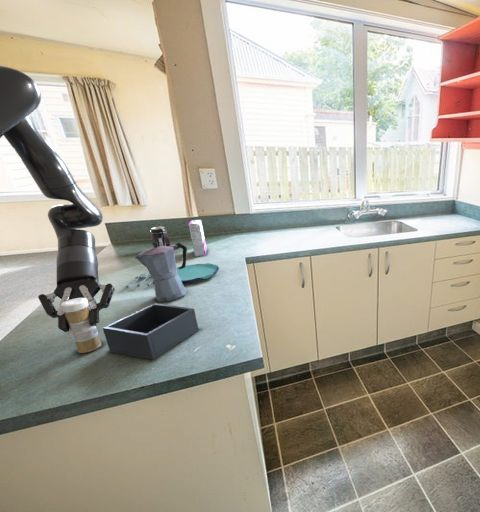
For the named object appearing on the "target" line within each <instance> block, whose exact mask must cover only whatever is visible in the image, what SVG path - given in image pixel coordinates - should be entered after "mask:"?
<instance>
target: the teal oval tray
mask: <svg viewBox="0 0 480 512" xmlns="http://www.w3.org/2000/svg"><path fill="white" fill-rule="evenodd" d="M178 267H179V266H176V268H177V274H178V276H179V277H180V279H181V281H182V283H187V282H194V281H198V280H203V279H204V280H207V279H209V278H212V277H213V276H214V275H215V274H217V272H218V271H219V270H220V266H219V265H218V264H215V263H210V262H208V263H197V264H187V265H185V268H183V269H180V270H179V269H178ZM143 277H144V279H142V278H143ZM150 278H151V281H150V282H149V283H148V284H147V285H146V286H147V287H150V286H151V284H153V283H152V282H153V278H152V276H151V275H150V273H149V272H148V273H140V274H139V275H138V276H137V275H136V276H135V277H134V279H133V280H132V281H131V282H130V283H128V284H127V285H126V286H125V288H126V289H130V287H131V286H132V285H134V284H135V283H136V282H137V281H139V280H141V279H142V280H141V281H139V282H138V283H137V284H136V286H137V287H141V285H143V284H144V283H145V281H147V280H148V279H150Z"/></svg>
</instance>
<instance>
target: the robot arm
mask: <svg viewBox="0 0 480 512" xmlns="http://www.w3.org/2000/svg"><path fill="white" fill-rule="evenodd" d="M41 101H42V93H41V90H40V88H39V85H38V84H37V83H36V82H35V80H34V79H33V78H31V77H30V76H29V75H27V74H26V73H24V72H23V71H20V70H18V69H15V68H13V67H9V66H5V65H0V139H1V138H2V137H4V138H5V140H6V141H7V143H9V144H10V146H11V147H12V149H13V150H14V151H15V153H16V154H17V156H18V157H19V159H20V160H21V162H22V163H23V165H24V166H25V168H26V169H27V171H28V173H29V174H30V176H31V178H32V179H33V181H34V182H35V184H36V185H37V187H38V188H39V190H40V192H41V193H42V195H43V196H45V198H47V199H50V200H60V201H61V200H62V201H68V202H70V203H67V204H58V205H54V206H52V207H51V208H50V209H49V210H48V212H47V218H48V220H49V223H50V224H51V226H52V228H53V230H54V233H55V235H56V239H57V256H56V287H55V288H54V290H53V292H50V293H48V294H47V293H46V294H44V293H41V294H39V295H38V296H37V298H38V300H39V302H40V304H41V306H42V307H43V310H44V311H45V313H46V315H47V316H49V317H51V318H52V319H56V318H57V327H58V329H59V330H61V331H62V332H64V333H68V332H71V331H70V327H69V325H68V322H67V319H66V316H65V314H64V312H63V311H62V309H61V304H62V303H63V302H65V301H68V300H71V299H75V298H86V299H87V301H88V304H89V322H90V325H91V326H96V327H97V325H98V324H99V323H100V322H101V321H100V311H101V310H103V309H107V308H109V307H110V304H111V301H112V299H113V295H114V293H115V290H116V289H115V286H114V285H113V284H112V283H107V284H101V283H100V282H99V281H100V279H99V261H98V257H97V253H96V252H97V251H96V239H95V236H94V234H93V233H92V232H90V231H88V230H85V229H87V228H94V227H97V226H100V225H101V224H102V222H103V219H104V217H103V213H102V211H101V209H100V208H99V207H98V206H97V205H96V203H94V201H92V200H91V199H90V198H89V197H88V196H87V194H85V192H83V190H82V189H81V188H80V187H79V185H78V184H77V181H76V180H75V178H74V177H73V175H72V173H71V171H70V169H69V167H68V166H67V164H66V163H65V161H64V160H63V159H62V157H61V156H59V154H58V153H57V152H56V151H55V150H54V148H53V147H52V146H51V145H50V144H49V143H48V142H47V141H46V139H45V138H44V137H43V136H42V135H41V133H40V132H39V131H38V129H37V127H36V126H35V124H34V123H33V122H32V120H31V118H30V116H29V115H31V114H32V113H33V112H35V111H36V110H37V109H38V108H39V106H40V104H41ZM100 291H101V292H102V294H101V296H100V297H101V298H100V300H99V302H97V300H96V298H95V297H96V295H97V294H98V293H99V292H100ZM56 298H59V299H60V302H59V307H58V310H57V309H56V306H55V305H54V304H53V303H55V302H56V300H55V299H56Z"/></svg>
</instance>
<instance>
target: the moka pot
mask: <svg viewBox="0 0 480 512" xmlns="http://www.w3.org/2000/svg"><path fill="white" fill-rule="evenodd" d="M151 245H152V246H153V247H151V248H148V249H145V250H142V251H140V253H137V254H136V256H135V257H134V259H135V260H137V261H138V262H140V264H142V265H143V266H144V267H145V268H146V270H147V271H148V273H150V275H151V276H152V277H151V279H153V282H152V283H151V284H153V286H154V287H153V288H154V293H155V299H156V301H157V302H161V303H162V302H171V301H174V300H175V301H176V300H178V299H180V298H182V297H184V296H185V295H186V294H187V290H186V288H185V286H184V284H183V282H182V281H181V279H180V277H179V276H178V274H177V267H178V269H179V270H180V269H183V268H185V265H186V264H187V252H188V247H187V246H185V245H184V244H182V243H181V242H177V243H174V244H170V246H161V247H158V243H156V242H154V243H153V242H152V243H151ZM179 249H182V263H181V266H177V263H176V262H177V261H176V256H175V251H177V250H179Z"/></svg>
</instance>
